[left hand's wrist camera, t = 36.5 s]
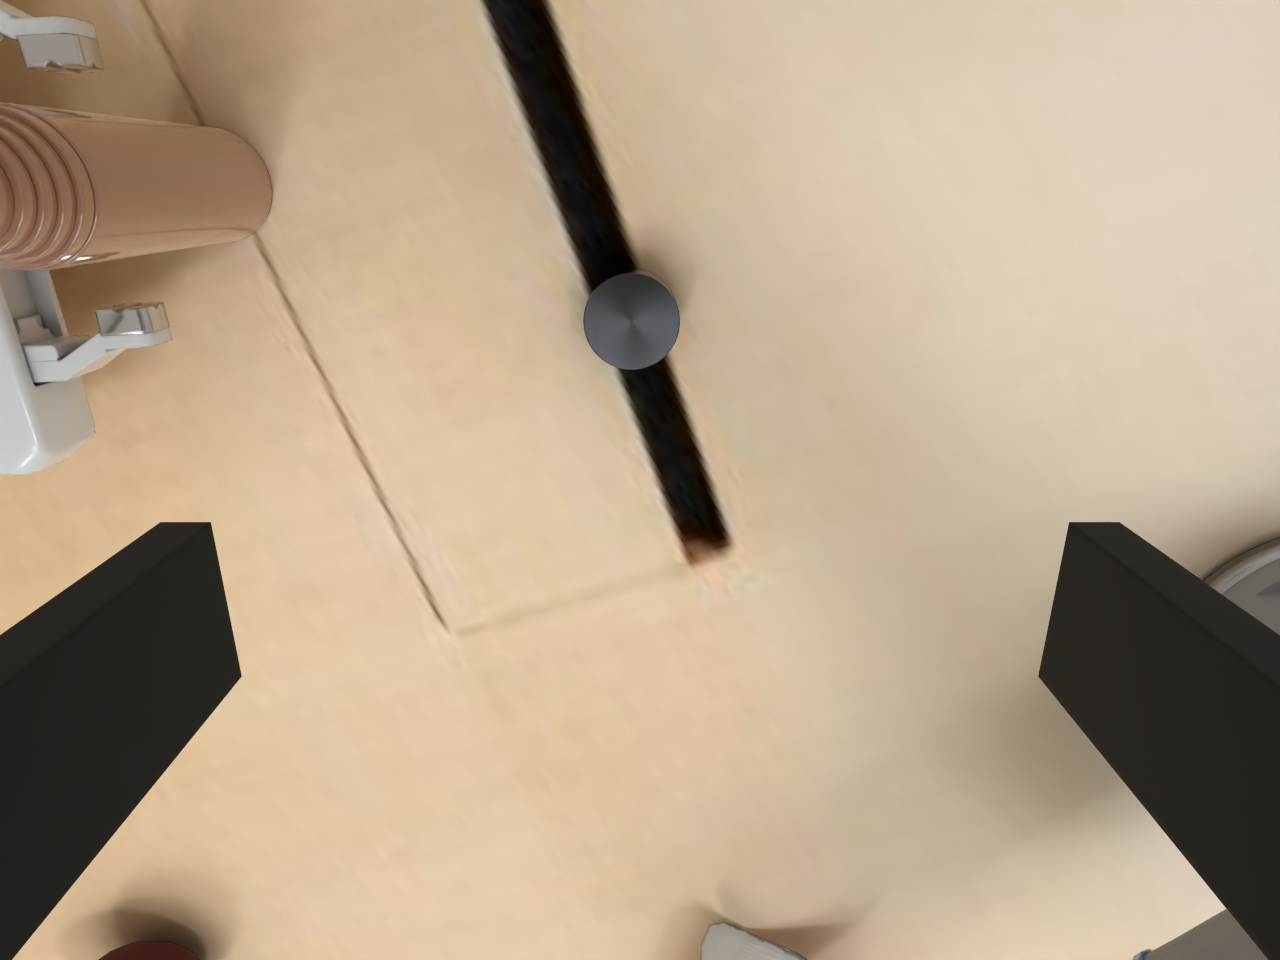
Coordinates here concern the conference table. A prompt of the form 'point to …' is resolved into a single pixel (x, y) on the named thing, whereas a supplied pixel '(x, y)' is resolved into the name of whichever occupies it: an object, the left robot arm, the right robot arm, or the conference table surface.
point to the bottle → (120, 187)
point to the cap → (631, 319)
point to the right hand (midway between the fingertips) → (127, 192)
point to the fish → (741, 945)
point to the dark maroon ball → (150, 952)
